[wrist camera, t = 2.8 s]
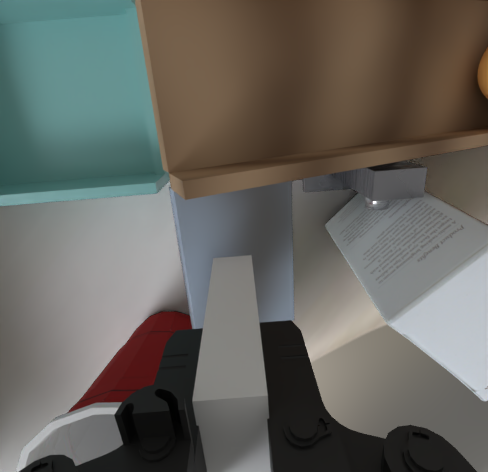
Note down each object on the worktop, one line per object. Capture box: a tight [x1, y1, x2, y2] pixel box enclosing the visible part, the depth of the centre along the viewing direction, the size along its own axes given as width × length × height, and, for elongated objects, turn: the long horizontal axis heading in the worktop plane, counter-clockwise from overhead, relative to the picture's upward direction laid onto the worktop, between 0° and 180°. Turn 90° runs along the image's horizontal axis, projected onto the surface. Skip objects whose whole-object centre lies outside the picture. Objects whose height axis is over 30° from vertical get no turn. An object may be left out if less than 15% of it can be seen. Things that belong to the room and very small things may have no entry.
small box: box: [325, 191, 488, 401], centre depth 18 cm, size 8×6×10 cm
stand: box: [303, 161, 427, 210], centre depth 16 cm, size 6×13×7 cm, turn 4°
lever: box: [135, 0, 488, 329], centre depth 15 cm, size 22×15×4 cm
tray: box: [0, 0, 170, 206], centre depth 17 cm, size 12×10×5 cm
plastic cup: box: [16, 311, 192, 472], centre depth 20 cm, size 11×11×12 cm
